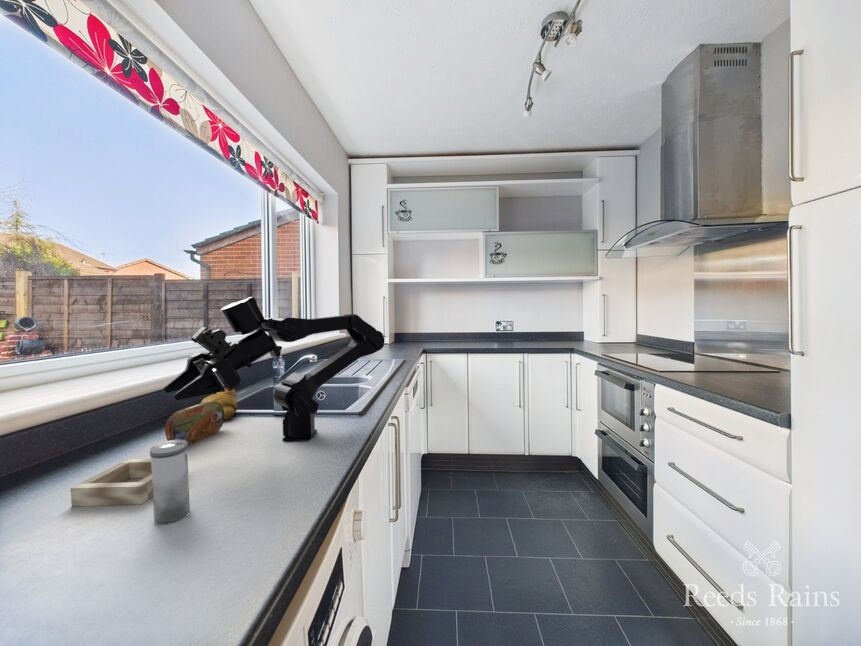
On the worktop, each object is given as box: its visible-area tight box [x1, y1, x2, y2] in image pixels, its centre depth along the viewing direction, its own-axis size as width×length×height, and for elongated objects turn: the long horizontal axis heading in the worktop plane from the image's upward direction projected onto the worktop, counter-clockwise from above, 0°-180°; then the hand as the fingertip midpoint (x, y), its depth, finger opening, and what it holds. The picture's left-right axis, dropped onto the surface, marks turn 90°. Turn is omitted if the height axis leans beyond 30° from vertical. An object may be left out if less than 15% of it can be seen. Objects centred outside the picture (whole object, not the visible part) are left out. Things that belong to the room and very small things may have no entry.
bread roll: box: [200, 387, 238, 421], centre depth 105 cm, size 13×10×8 cm
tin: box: [164, 401, 225, 447], centre depth 87 cm, size 15×3×8 cm, turn 168°
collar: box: [70, 458, 153, 507], centre depth 63 cm, size 11×11×3 cm
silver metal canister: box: [149, 440, 191, 525], centre depth 54 cm, size 5×5×11 cm
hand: (169, 394), depth 68 cm, fingers open, 9 cm apart
